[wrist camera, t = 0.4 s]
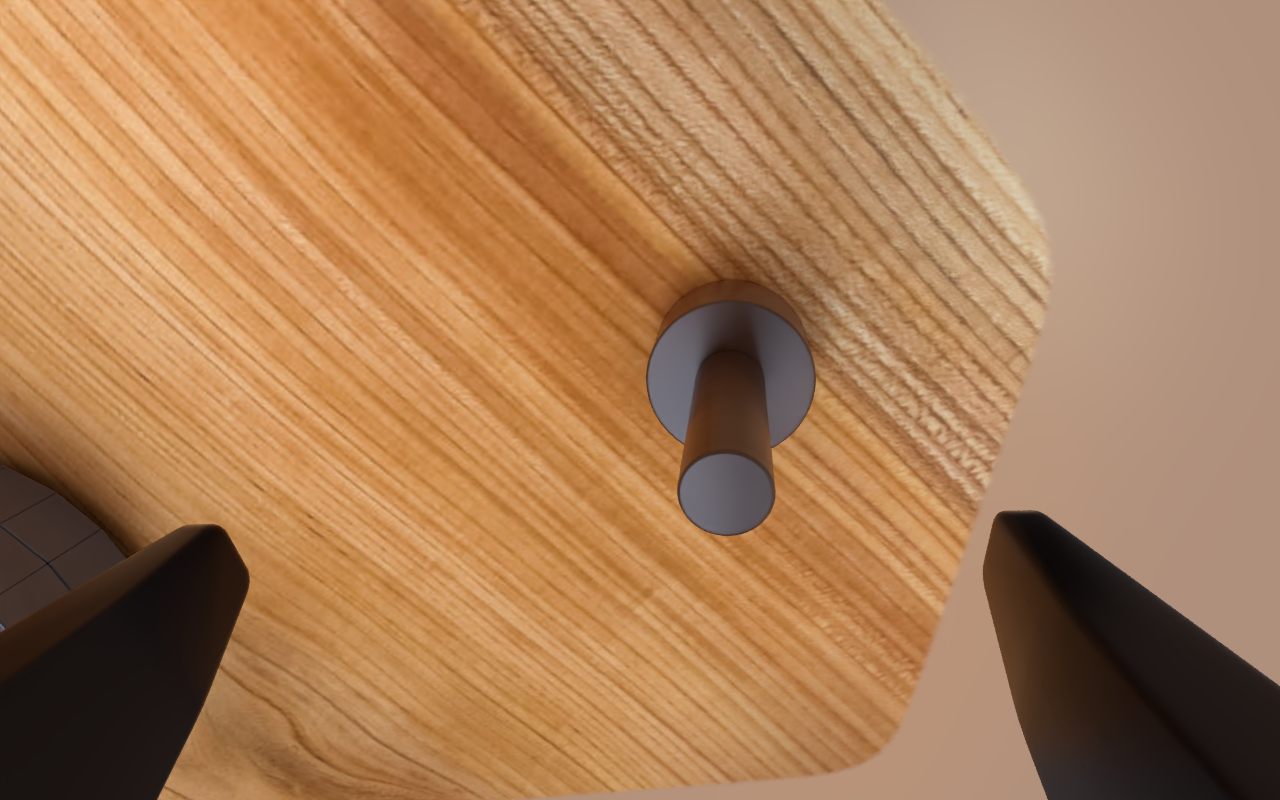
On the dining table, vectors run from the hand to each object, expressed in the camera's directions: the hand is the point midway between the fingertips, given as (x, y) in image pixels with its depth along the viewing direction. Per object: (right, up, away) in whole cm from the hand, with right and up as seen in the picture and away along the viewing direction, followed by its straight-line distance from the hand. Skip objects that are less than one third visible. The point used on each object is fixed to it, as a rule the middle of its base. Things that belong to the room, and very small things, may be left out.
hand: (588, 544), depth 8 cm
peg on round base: (+3, +3, +13) cm, 13 cm away
